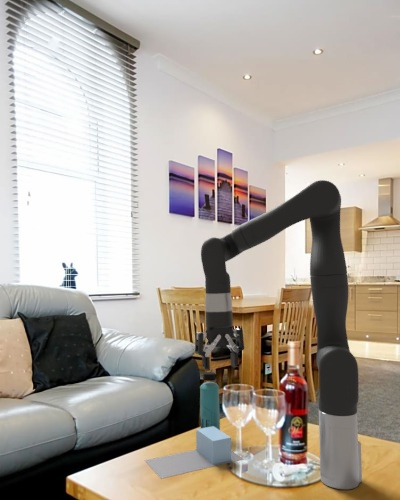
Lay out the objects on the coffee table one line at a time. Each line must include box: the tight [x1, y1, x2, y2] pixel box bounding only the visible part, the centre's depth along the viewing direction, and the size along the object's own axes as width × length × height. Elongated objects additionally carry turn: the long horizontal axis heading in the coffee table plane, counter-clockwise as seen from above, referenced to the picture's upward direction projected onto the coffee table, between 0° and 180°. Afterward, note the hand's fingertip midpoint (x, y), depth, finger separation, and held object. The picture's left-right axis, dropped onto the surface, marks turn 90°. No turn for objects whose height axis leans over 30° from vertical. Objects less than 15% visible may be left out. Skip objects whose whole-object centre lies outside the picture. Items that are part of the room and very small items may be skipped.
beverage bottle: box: [199, 371, 221, 431], centre depth 140 cm, size 6×7×20 cm
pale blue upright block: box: [195, 426, 232, 464], centre depth 121 cm, size 6×10×6 cm, turn 27°
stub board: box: [144, 449, 244, 480], centre depth 118 cm, size 24×12×4 cm, turn 117°
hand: (220, 368), depth 120 cm, fingers open, 8 cm apart
